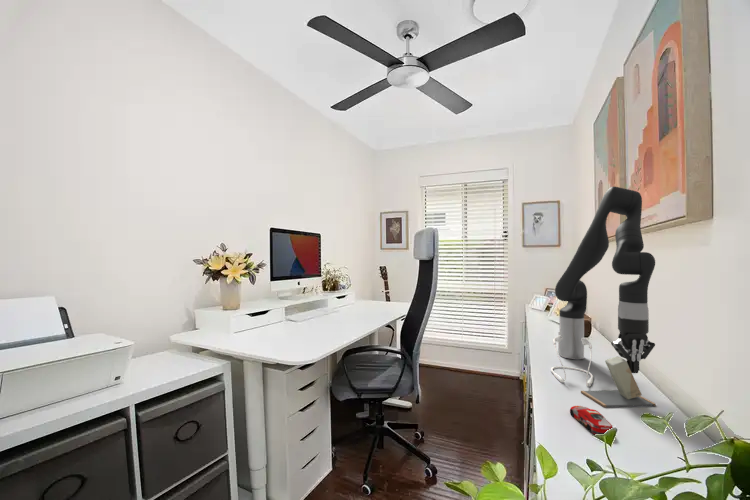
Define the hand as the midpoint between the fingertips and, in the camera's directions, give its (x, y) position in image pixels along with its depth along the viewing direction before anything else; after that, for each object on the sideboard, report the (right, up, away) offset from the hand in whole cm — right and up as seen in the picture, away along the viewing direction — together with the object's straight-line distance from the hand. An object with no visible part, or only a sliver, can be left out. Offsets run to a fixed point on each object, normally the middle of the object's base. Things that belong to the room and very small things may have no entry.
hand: (632, 372), depth 103 cm
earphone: (-8, -9, +18) cm, 21 cm away
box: (-1, -7, 0) cm, 7 cm away
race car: (-23, -9, -15) cm, 29 cm away
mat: (-5, -8, 0) cm, 10 cm away
